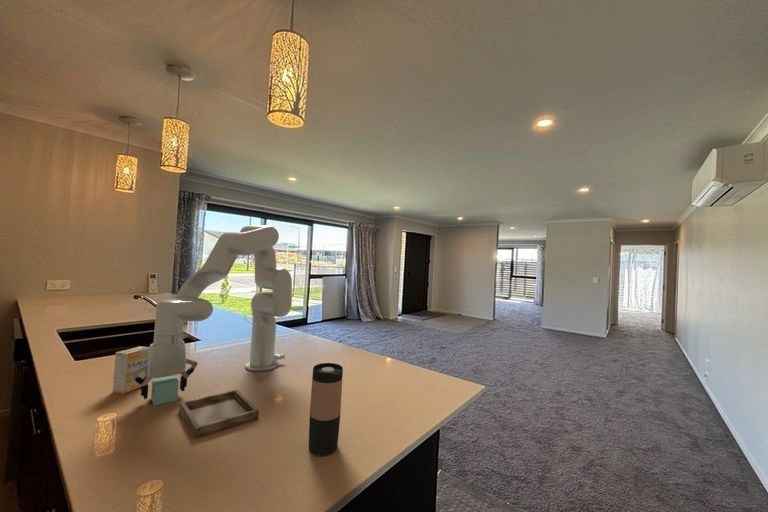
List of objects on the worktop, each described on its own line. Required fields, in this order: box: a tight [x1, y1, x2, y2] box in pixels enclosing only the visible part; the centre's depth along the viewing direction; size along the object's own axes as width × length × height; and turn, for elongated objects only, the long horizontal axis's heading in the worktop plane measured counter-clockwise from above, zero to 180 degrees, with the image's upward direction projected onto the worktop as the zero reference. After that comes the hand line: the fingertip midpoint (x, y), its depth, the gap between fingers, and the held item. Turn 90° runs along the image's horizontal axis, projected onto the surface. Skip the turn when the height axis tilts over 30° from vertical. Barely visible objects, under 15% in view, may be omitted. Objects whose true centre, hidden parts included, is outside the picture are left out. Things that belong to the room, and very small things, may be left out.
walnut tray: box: [179, 389, 260, 439], centre depth 90 cm, size 16×18×2 cm
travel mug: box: [308, 362, 344, 457], centre depth 78 cm, size 8×8×20 cm
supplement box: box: [112, 346, 150, 395], centre depth 104 cm, size 8×5×13 cm, turn 168°
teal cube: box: [150, 375, 180, 407], centre depth 98 cm, size 6×6×6 cm
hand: (164, 393), depth 98 cm, fingers open, 9 cm apart
